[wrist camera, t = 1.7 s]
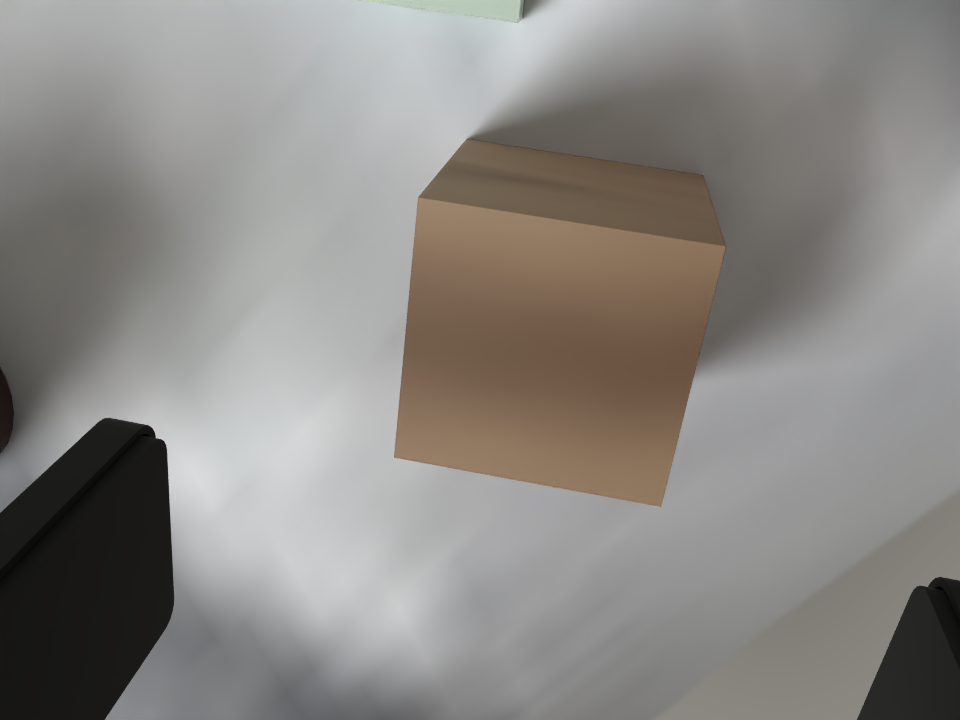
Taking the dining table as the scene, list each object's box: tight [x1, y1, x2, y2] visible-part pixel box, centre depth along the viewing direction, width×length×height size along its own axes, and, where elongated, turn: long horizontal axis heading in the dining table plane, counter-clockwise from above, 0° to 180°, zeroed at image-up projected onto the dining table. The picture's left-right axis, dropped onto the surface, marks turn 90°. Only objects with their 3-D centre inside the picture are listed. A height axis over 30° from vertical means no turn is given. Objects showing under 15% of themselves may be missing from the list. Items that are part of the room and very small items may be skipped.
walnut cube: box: [394, 139, 726, 507], centre depth 21 cm, size 6×6×6 cm
